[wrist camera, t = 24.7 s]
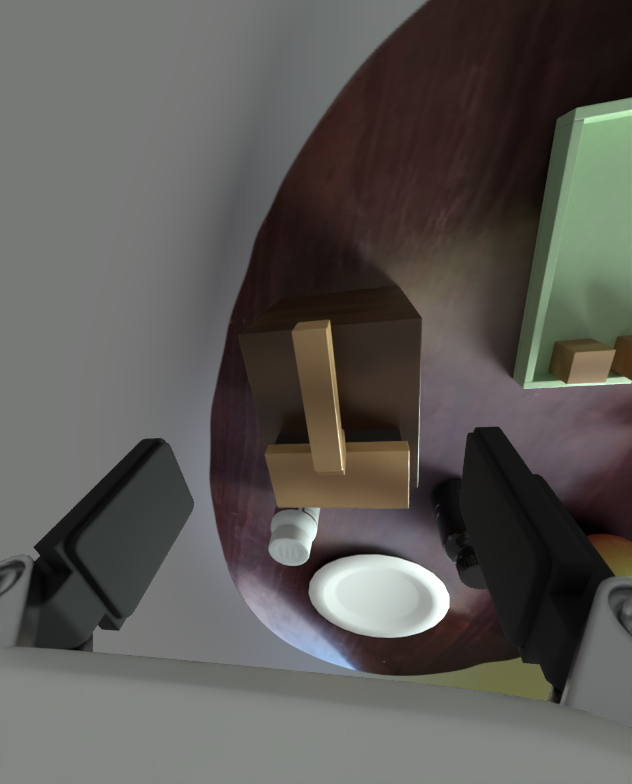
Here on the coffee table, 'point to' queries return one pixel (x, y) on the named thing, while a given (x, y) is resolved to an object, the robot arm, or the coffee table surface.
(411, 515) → the coffee table surface
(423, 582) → the plate
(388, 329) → the stand
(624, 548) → the apple
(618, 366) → the brown cube
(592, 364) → the cork block
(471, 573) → the supplement bottle
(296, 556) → the pill bottle
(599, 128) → the tray
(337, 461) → the brush
